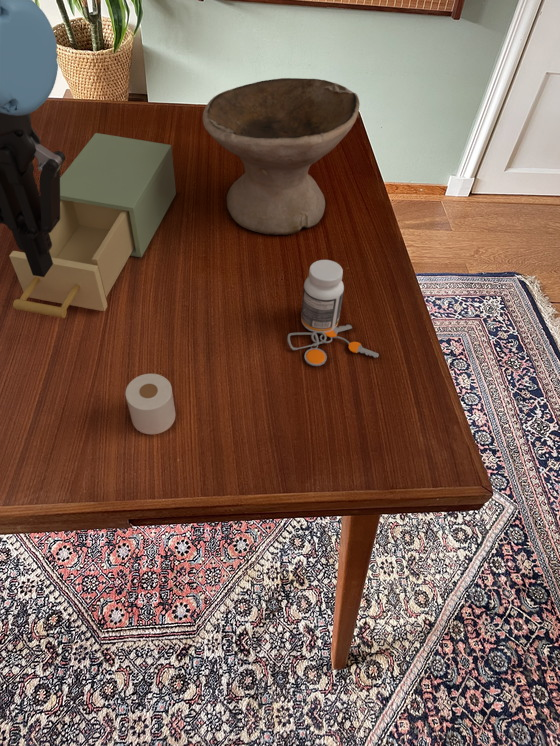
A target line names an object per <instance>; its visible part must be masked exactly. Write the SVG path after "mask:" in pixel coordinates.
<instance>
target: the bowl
mask: <svg viewBox="0 0 560 746" xmlns="http://www.w3.org/2000/svg"><path fill="white" fill-rule="evenodd" d="M360 105H361V104H360V99H359V96H358V94H357V93H356V92H353V91H352V90H350V89H349V88H347V87H346V86H344V85H341V84H340V83H337V82H332V81H330V80H326V79H320V78H301V77H298V78H297V77H281V78H272V79H265V80H259V81H255V82H252V83H248V84H244V85H240V86H236V87H234V88H231V89H227V90H224V91H222V92H221V93H218V94H216V95H214V96H213V97H212V98H211V99H210V100H209V101H208V103H207V104H206V105H205V107H204V110H203V113H202V123H203V127H204V128H205V130H206V132H207V133H208V134H209V135H210V136H211V137H212V138H213V140H214V141H215V142H216V143H218V144H219V145H220V146H221V147H222V148H223V149H225V150H226V151H228V152H230V153H231V154H233V155H235V156H237V157H238V158H239V159H240V160H241V162H242V164H243V168H244V171H245V172H244V173H243V174H242V175H241V176H240V177H239V178H238V179H237V180H235V181H234V182H233V183H232V185H231V186H230V188H229V189H228V192H227V195H226V207H227V210H228V212H229V214H230V217H231V218H232V219H233V221H235V223H236V224H237V225H239V226H240V227H243V228H244V229H247V230H248V231H252V232H256V233H260V234H264V235H276V236H288V235H293V234H296V233H299V232H300V231H301V229H310V228H312V227H315V226H316V225H317V224H318V223H319V222H320V221H321V219H322V218H323V216H324V213H325V209H326V200H325V195H324V193H323V192H322V190H321V188H320V187H319V185H318V184H317V182H316V180H315V179H314V178H313V177H312V175H310V174H309V169H311V168H310V167H311V166H312V165H313V164H316V163H317V162H318V161H320V159H322V158H324V157H325V156H326V155H327V154H329V153H330V152H331V151H332V150H334V149H335V148H336V147H337V146H338V144H340V142H342V140H343V139H344V138H345V137H346V136H347V135H348V133H349V132H350V130H352V128H353V126H354V125H355V122H356V121H357V119H358V116H359V110H360Z"/></svg>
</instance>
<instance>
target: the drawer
mask: <svg viewBox="0 0 560 746" xmlns="http://www.w3.org/2000/svg"><path fill="white" fill-rule="evenodd" d="M49 235H50V239H51V242H52V247H51V249H50V250H49V252H50V255H51V258H52V262H53V265H52V266H51V268H50V269H49V271H48V272H47V274H46V275H45V277H40V276H34V275H33V274H32V271H31V269H30V266H29V263H28V260H27V257H26V255H25V252H24V251H17V250H12V251H11V253H10V254H9V255H8V257H9V259H10V262H11V264H12V267H13V269H14V272H15V274H16V276H17V279H18V282H19V285H20V287H21V289H22V292H23V293H22V295H21V296H20V298H19V299H18V298H16V299H14V300H13V303H12V307H13V309H14V310H18V311H23V312H28V313H34V314H39V315H44V316H51V317H54V318H61V319H65V318H66V317H67V313H68V311H67V309H68V308H69V307H70V306H72V307H79V308H85V309H90V310H95V311H99V312H105V311H106V310H107V308H108V302H107V297H108V295H109V293H110V292H111V290H112V288H113V286H114V285H115V283H116V281H117V279H118V277H119V276H120V274H121V272H122V270H123V268H124V267H125V265H126V263H127V261H128V259H129V258H130V254H131V253H132V251H133V249H134V247H135V242H134V237H133V231H132V225H131V219H130V214H129V211H125V210H119V209H113V208H107V207H101V206H96V205H90V204H84V203H78V202H72V201H66V200H60V220H59V222H58V223H57V224H56V226H55V227H54V229H53V230H52V231H51V232H50V233H49ZM28 298H30V299H36V300H41V301H47V302H52V303H57V304H61V306H55V305H50V304H47V303H46V304H45V303H40V302H34V301H30V300H28Z"/></svg>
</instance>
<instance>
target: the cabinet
mask: <svg viewBox="0 0 560 746" xmlns="http://www.w3.org/2000/svg"><path fill="white" fill-rule="evenodd" d="M176 189H177V188H176V179H175V169H174V157H173V147H172V144H169V143H168V144H167V143H162V142H161V143H160V142H155V141H150V140H149V141H148V140H142V139H136V138H130V137H124V136H118V135H112V134H106V133H105V134H103V133H98V132H95V133H94V134H93V136H92V137H91V138H90V139H89V141H88V142H87V143H86V145H84V147H83V148H82V149H81V151H80V152H79V153H78V155H77V156H76V157H75V158H74V159H73V161H72V162H71V163H70V164H69V166H68V167H67V169H66V170H65V171H64V172H63V174H62V175H60V200H66V201H72V202H78V203H84V204H90V205H96V206H101V207H107V208H113V209H119V210H125V211H129V214H130V219H131V225H132V231H133V237H134V242H135V247H134V249H133V251H132V253H131V254H130V256H131V257H136V258H143V256H144V254H145V252H146V250H147V248H148V246H149V245H150V242H151V241H152V239H153V237H154V236H155V234H156V232H157V230H158V228H159V226H160V225H161V223H162V221H163V218H164V217H165V215H166V213H167V211H168V210H169V208H170V206H171V204H172V202H173V201H174V199H175V196H176V195H177V190H176ZM130 256H129V257H130Z"/></svg>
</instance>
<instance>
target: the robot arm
mask: <svg viewBox="0 0 560 746" xmlns="http://www.w3.org/2000/svg"><path fill="white" fill-rule="evenodd" d="M57 49H58V43H57V39H56V35H55V32H54V29H53V26H52V24H51V22H50V21H49V18H48V17H47V15H46V14H45V12H44V11H43V10H42V9H41V8H40V6H39V5H38V4H37V3H36V2H35V1H34V0H0V225H1V224H3V225H5V226H7V228H8V229H9V230H10V231H11V232H12V235H13V238H14V240H15V243H16V246H17V247H18V249H19V250H20V251H23V252H24V253H25V255H26V257H27V260H28V263H29V266H30V269H31V271H32V274H33V275H34V276H40V277H45V275H46V274H47V272H48V271H49V269H50V268H51V266H52V265H53V262H52V258H51V255H50V252H49V250H50V249H51V247H52V242H51V239H50V235H49V233H50V232H51V231H52V230H53V229H54V227H55V226H56V224H57V223H58V222H59V220H60V177H61V168H62V167H63V164H64V163H65V161H66V155H65V154H64V152H63V151H61V150H55V151H54V152H52V151H51V150H49V149H48V148H47V147H45V146H44V145H42V143H41V139H40V137H39V135H38V134H37V132H36V131H35V130H34V128H33V126H32V119H31V118H32V117H31V114H32V113H33V112H35V111H37V110H38V109H39V108H40V107H41V106H43V104H45V102H46V101H47V100H48V98H49V97H50V95H51V94H52V92H53V90H54V88H55V84H56V81H57V76H58V71H59V63H58V56H59V55H58V50H57ZM35 158H36V160H37V171H39V172H40V174H39V189H38V186H37V182H36V179H35V176H34V172H35V166H34V163H33V162H34V160H35Z"/></svg>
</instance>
